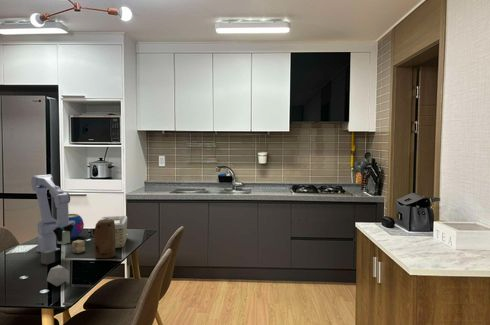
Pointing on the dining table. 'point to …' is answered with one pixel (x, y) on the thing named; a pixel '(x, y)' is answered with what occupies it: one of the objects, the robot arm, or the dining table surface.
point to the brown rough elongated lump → (104, 239)
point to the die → (57, 275)
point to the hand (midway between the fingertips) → (63, 240)
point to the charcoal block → (48, 256)
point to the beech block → (78, 246)
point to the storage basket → (119, 229)
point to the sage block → (65, 237)
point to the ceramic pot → (76, 225)
